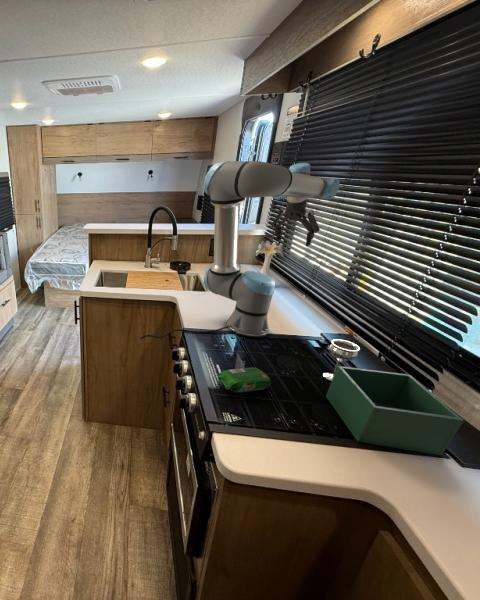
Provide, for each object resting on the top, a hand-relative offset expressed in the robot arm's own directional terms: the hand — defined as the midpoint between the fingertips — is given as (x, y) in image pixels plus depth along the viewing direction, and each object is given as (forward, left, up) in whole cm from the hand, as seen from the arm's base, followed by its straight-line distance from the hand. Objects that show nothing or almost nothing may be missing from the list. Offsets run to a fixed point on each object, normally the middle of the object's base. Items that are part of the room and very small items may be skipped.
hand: (292, 242), depth 149 cm
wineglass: (-6, -72, -28) cm, 77 cm away
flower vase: (-5, +14, -28) cm, 32 cm away
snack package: (-35, -84, -28) cm, 95 cm away
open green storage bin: (-4, -91, -28) cm, 95 cm away
